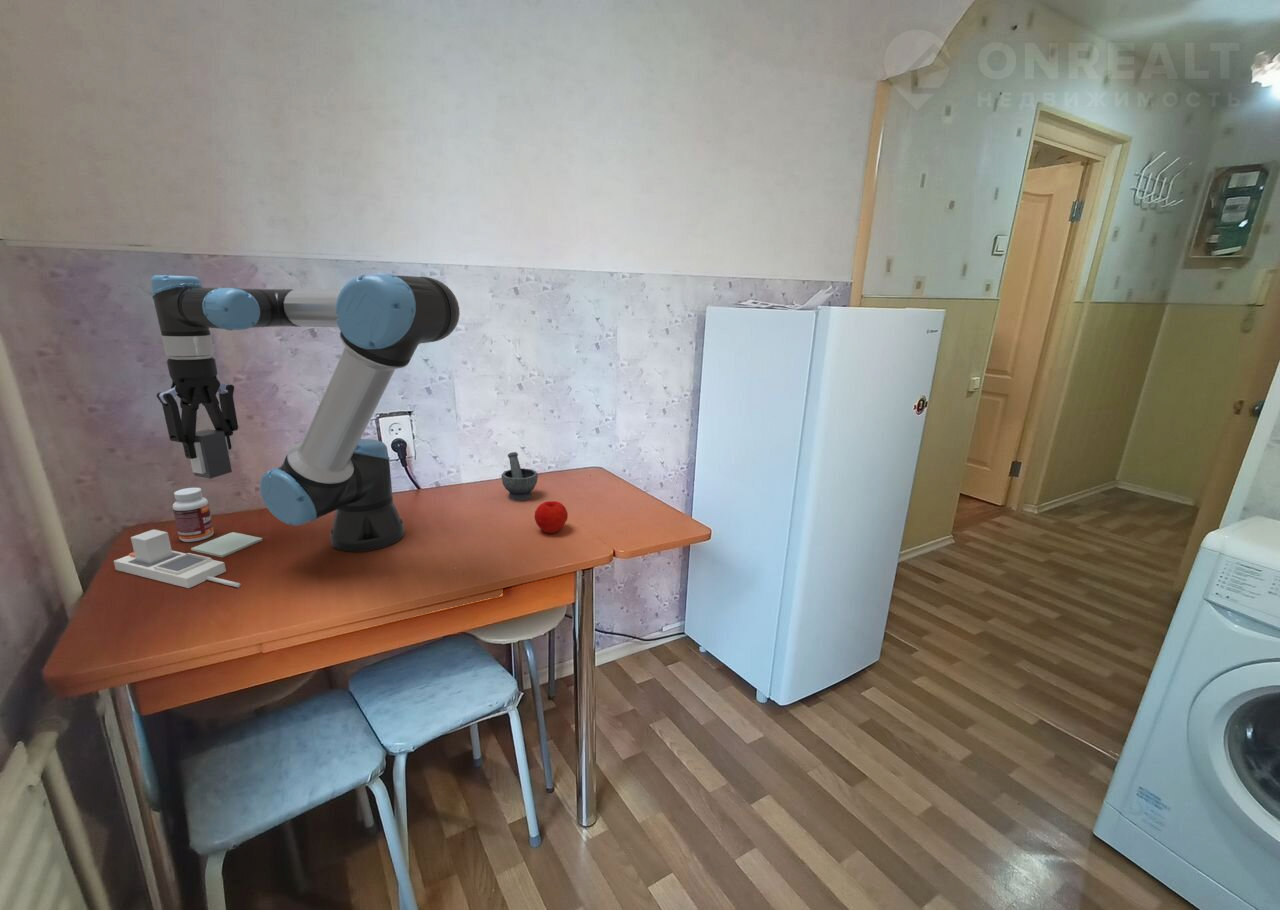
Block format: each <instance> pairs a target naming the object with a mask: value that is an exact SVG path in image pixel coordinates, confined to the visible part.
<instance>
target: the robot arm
mask: <svg viewBox="0 0 1280 910" xmlns="http://www.w3.org/2000/svg"><path fill="white" fill-rule="evenodd" d="M150 284H151V292H152V294H151V298H152V300H153V303H154V307H155V308H154V309H155V313H156V316H157V321H158V325H159V331H160V333H161V339H162V343H163V348H164V353H165V354H164V355H165V356H166V357H170V358H168V359H167V360H166V365H167V368H168V373H169V376H170V378H171V380H172V382H171V386H170V389H168V390H166V391H164V392H157V393H156V398H157V399H158V401H159V403H161V405H162V410H163V415H164V419H165V424H166V428H167V432H168V437H169V440H170V442H175V443H181V444H182V447H183V450H184V455H185V457H186V459H189V460H190V464H191V469H192V470H191V471H192V473H193V474H194V473H200V474H204V473H206V470H205V465H204V460H203V455H202V450H201V445H200V442H195V436H196V432H197V431H196V430H197V415H198V410H199V409H200V404H201V405H202V406H203V407H204V408H205V411H206V413H207V414H208V417H209V419H210V421H211V423H212V426H213V428H214V430H218V431H224V434H225V439H226V444H227V449H228V454H229V459H230V465H231V467H232V466H233V465H232V461H231V455H230V450H231V449H232V442H231V437H232V436H233V435H234V431H235V432H236V431H238V429H239V423H238V418H237V411H236V406H235V400H234V393H235V386H234V385H233V384H227V383H221V382H220V380H219V379H218V376H217V375H218V368H217V367H218V366H217V363H216V359H215V358H214V357H212V356H213V355H214V354H215V351H214V345H213V340H212V337H211V336H212V335H211V331H210V329H220V330H221V329H223V330H227V331H240V330H241V331H242V330H248V329H251V328H253V329H255V328H270V327H271V328H272V327H279V328H280V327H297V328H298V327H301V328H302V327H307V328H310V327H312V328H338V329H339V331H340V333H339V338H340V340H341V342H342V343H343V345H344V349H343V351H342V353H341V355H340V357H339V359H338V361H337V364H336V367H335V368H334V371H333V373H332V376H331V378H330V380H329V382H328V384H327V387H326V389H325V392H324V394H323V395H322V398H321V400H320V402H319V405H318V407H317V409H316V411H315V413H314V415H313V418H312V421H311V422H310V425H309V427H308V429H307V431H306V434H305V436H304V438H303V441H301V442H298V443H296V444H294V445H292V446H291V447H290V448H289V450H288V452H287V454H286V456H285V458H284V460H283V463H281V465H280V466H279V467H278V468H277V467H276V468H271V469H270V470H269V471H267V472H265V473H264V474H262V476H261V478H260V481H259V492H260V495H261V498H262V500H263V503H264V505H265V506H266V508H267V509H268V511H269V512H270V513H271V514H272V515H273V516H274V517H275V519H277V520H279V521H280V522H282V523H284V524H287V525H290V526H300V525H304V524H306V523H309V522H311V523H312V522H314V521H316V520H318V519H319V518H321V517H324V516H326V515H328V514H330V513H332V512H334V511H335V513H334V517H333V522H332V529H331V530H330V533H329V534H330V544H331V546H332V547H333V548H335V549H336V550H339V551H342V552H352V553H353V552H354V553H355V552H368V551H374V550H379V549H381V548H385V547H388V546H391V545H393V544H395V543H397V542H398V541H401V539H402V538H403V537H404V535H405V524H404V522H403V520H402V519H401V517H400V515H399V512H398V510H397V508H396V506H395V503H394V499H393V498H394V497H393V488H392V476H391V466H390V465H391V464H390V459H391V458H390V457H389V451H388V446H387V445H386V443H384V442H383V441H380V440H376V439H370V438H362V437H363V435H364V433H365V431H366V429H367V427H368V425H369V423H370V421H371V419H372V417H373V414H374V412H375V411H376V409H377V407H378V405H379V402H380V401H381V399H382V397H383V394H384V393H385V392H386V391H385V390H386V389H387V387H388V385H389V383H390V381H391V379H392V377H393V375H394V373H395V370H397V369H402V368H406V367H407V366H408V365H409V364H410V361H411V359H412V358H413V356H414V353H415V352H416V350H417V348H418V346H419V345H421V344H427V343H428V344H429V343H434V342H439V341H441V340H443V339H445V338H446V337H448V336H450V335H451V334H452V333H453V332H454V331H455V329H456V328H457V326H458V323H459V321H460V320H459V319H460V315H461V314H460V312H461V311H460V305H459V301H458V299H457V297H456V295H455V294H454V292H453V290H451V288H449V287H448V285H446V284H444V283H443V282H442V281H440V280H439V279H435V278H433V277H429V276H428V277H427V276H411V275H410V276H409V275H397V274H396V275H395V274H391V273H387V272H375V273H369V274H362V275H361V274H360V275H358V276H356V277H354V278H352V279H350V280H349V281H348V282H346V283H345V284H344V286H343V287H342V288H339V289H337V288H336V289H335V288H334V289H331V288H329V289H328V288H327V289H325V288H324V289H322V288H321V289H320V288H319V289H318V288H317V289H316V288H315V289H313V288H312V289H311V288H310V289H307V288H306V289H302V288H301V289H299V288H298V289H291V288H287V289H286V288H285V289H284V288H280V289H277V288H272V289H271V288H270V289H269V288H267V289H266V288H265V289H264V288H240V287H239V288H237V287H224V286H223V287H203V285H202V283H201V279H199V277H197V276H191V275H170V274H169V275H168V274H167V275H164V274H163V275H162V274H156V275H155V274H154V275H153V276H152V277H151V279H150ZM217 394H218V397H217ZM177 397H178V398H179V399H180V401H179V402H180V403H179V404H178V402H177V401H178V398H177ZM218 399H219V400H218ZM219 405H220V406H219ZM179 407H180V409H181V413H180V409H179Z"/></svg>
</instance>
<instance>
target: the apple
mask: <svg viewBox="0 0 1280 910" xmlns="http://www.w3.org/2000/svg"><path fill="white" fill-rule="evenodd" d="M568 515H569V513H568V510H567V508H566V506H565V505H564V504H562V503H561V502H560V501H557V500H556V501H554V500H550V501H545V502H543V503H541V504H540V505H538V506H537V508H536V510H534V521H535V522H536V525H537V527H538V528H539V529H540V530H542V531H543V532H544V533H546V534H554V533H555V534H556V533H558V532H560V531H561V530H562V529H563V528H564V526H565V524H566V523H567V521H568Z"/></svg>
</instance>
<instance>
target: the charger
mask: <svg viewBox="0 0 1280 910" xmlns="http://www.w3.org/2000/svg"><path fill="white" fill-rule="evenodd" d="M195 442H200V445H201V450H202V455H203V460H204V465H205V470H206V473H204V474H200V473H194V472H193V474H194V476H195V477H200V478H204V479H205V478H206V479H214V478H217V477H220V476H224V475H227V474H230V473H231V474H232V473H233V470H232V466H231V465H232V464H231V465H230V459H231V458H230V459H229V454H230V453H229V454H228V449H227V444H226V439H225V434H224V431H218V430H215V429H209V428H206V429H202V430H198V431H196V436H195Z"/></svg>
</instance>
